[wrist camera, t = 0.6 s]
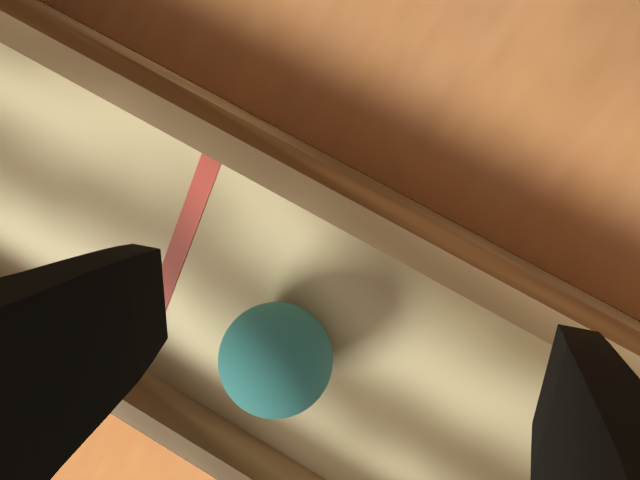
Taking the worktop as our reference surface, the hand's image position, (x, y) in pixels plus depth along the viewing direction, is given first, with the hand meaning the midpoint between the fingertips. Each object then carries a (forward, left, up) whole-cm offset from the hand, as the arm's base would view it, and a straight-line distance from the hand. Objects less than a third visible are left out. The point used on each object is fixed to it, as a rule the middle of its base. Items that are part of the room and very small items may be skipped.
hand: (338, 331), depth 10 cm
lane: (-7, +5, -10) cm, 13 cm away
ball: (-7, +1, -7) cm, 10 cm away
